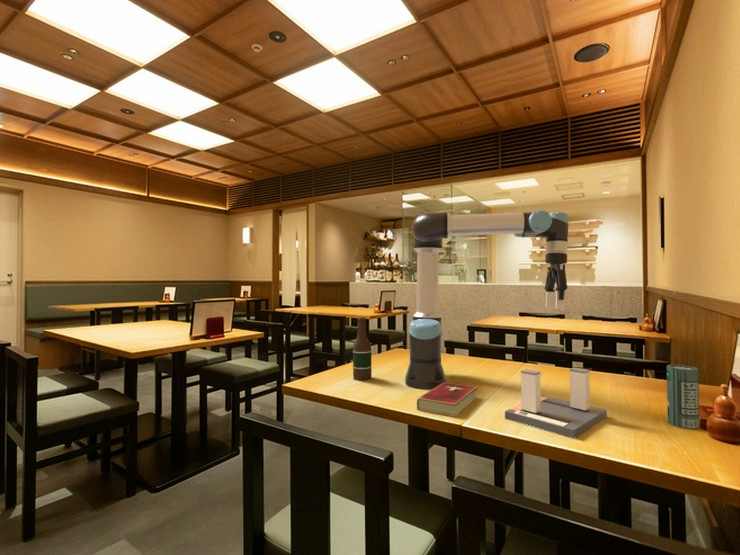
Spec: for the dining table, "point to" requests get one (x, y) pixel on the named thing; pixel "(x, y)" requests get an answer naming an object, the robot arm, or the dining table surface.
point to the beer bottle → (362, 353)
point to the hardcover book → (447, 398)
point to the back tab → (579, 388)
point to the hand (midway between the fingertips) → (554, 308)
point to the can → (683, 396)
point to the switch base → (551, 410)
